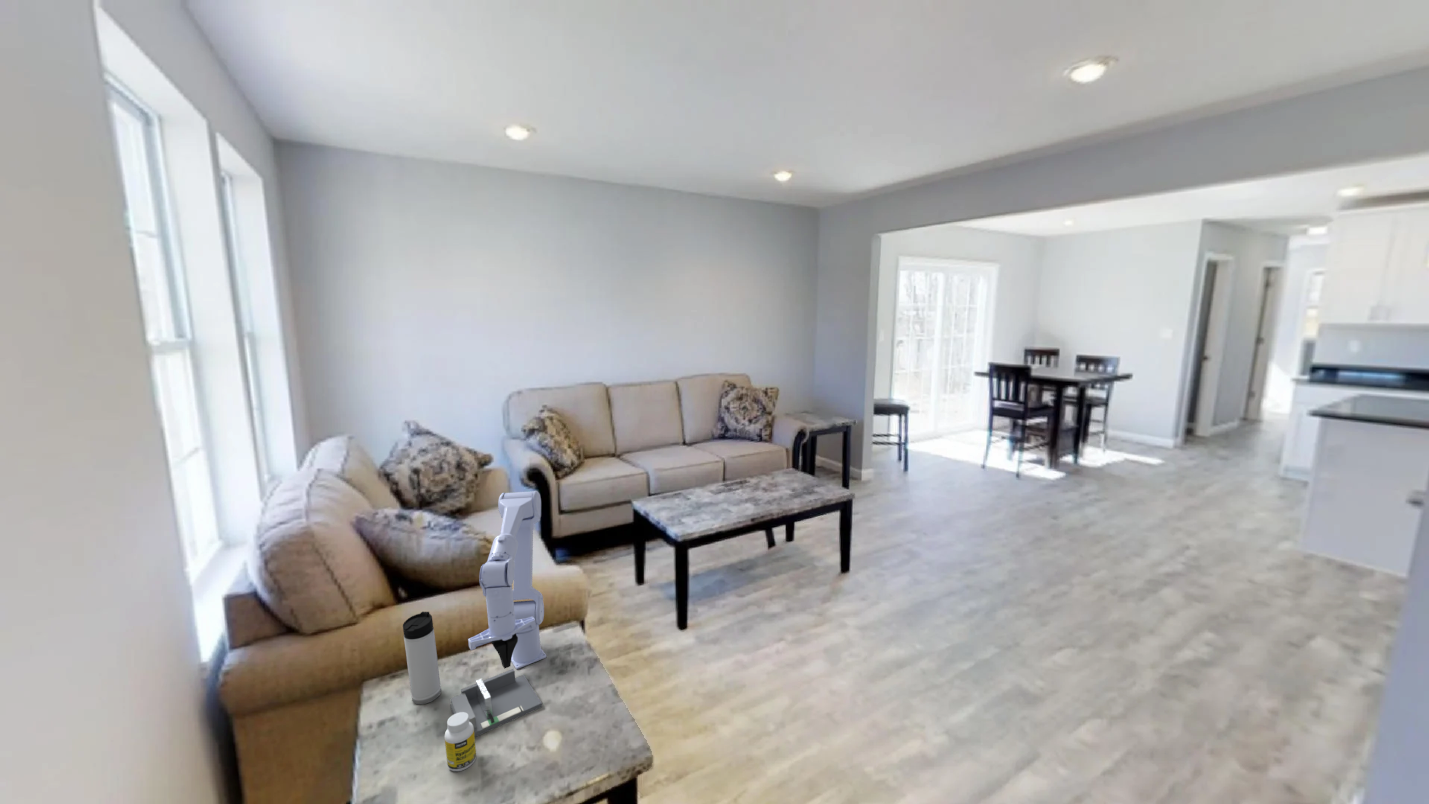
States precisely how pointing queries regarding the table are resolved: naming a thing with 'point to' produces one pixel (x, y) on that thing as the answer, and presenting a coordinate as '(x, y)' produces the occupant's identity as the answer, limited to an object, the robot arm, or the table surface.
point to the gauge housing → (497, 701)
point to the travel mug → (421, 658)
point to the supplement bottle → (460, 742)
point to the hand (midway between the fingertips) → (506, 665)
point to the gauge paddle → (484, 699)
